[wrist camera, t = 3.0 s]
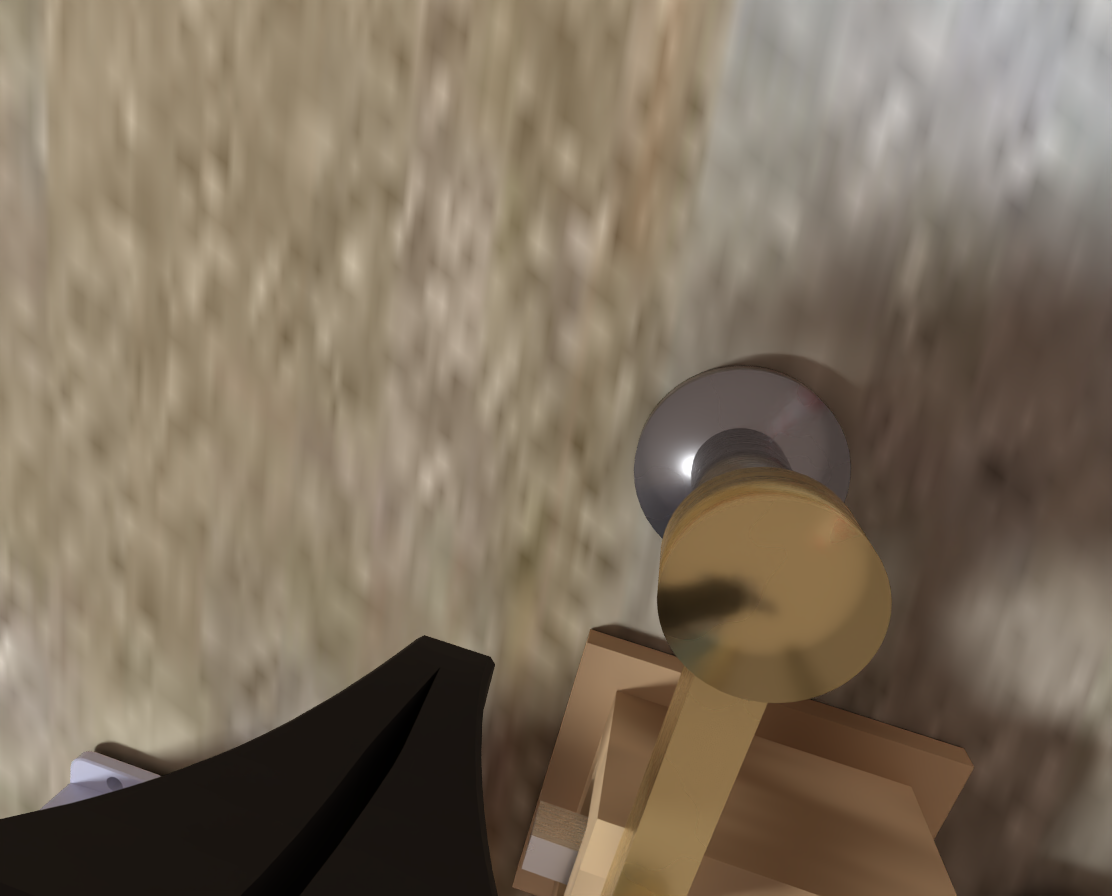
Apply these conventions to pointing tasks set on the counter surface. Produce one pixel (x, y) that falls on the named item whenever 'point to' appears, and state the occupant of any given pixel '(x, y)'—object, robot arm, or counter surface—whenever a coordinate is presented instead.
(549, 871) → the hook rod
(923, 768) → the block
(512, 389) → the counter surface
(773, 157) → the counter surface
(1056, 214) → the counter surface
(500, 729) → the counter surface
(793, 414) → the lever post
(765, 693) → the lever
